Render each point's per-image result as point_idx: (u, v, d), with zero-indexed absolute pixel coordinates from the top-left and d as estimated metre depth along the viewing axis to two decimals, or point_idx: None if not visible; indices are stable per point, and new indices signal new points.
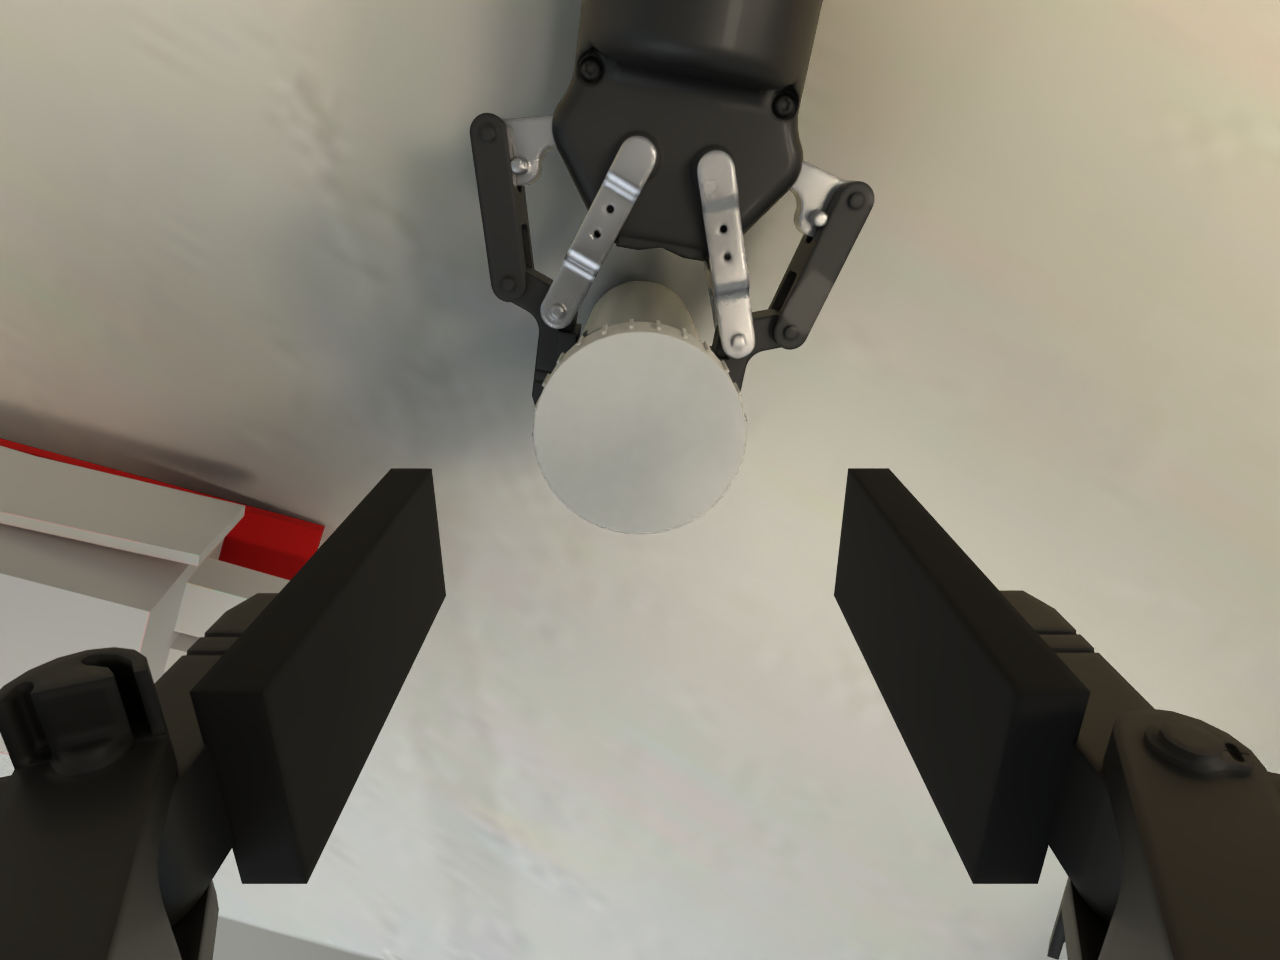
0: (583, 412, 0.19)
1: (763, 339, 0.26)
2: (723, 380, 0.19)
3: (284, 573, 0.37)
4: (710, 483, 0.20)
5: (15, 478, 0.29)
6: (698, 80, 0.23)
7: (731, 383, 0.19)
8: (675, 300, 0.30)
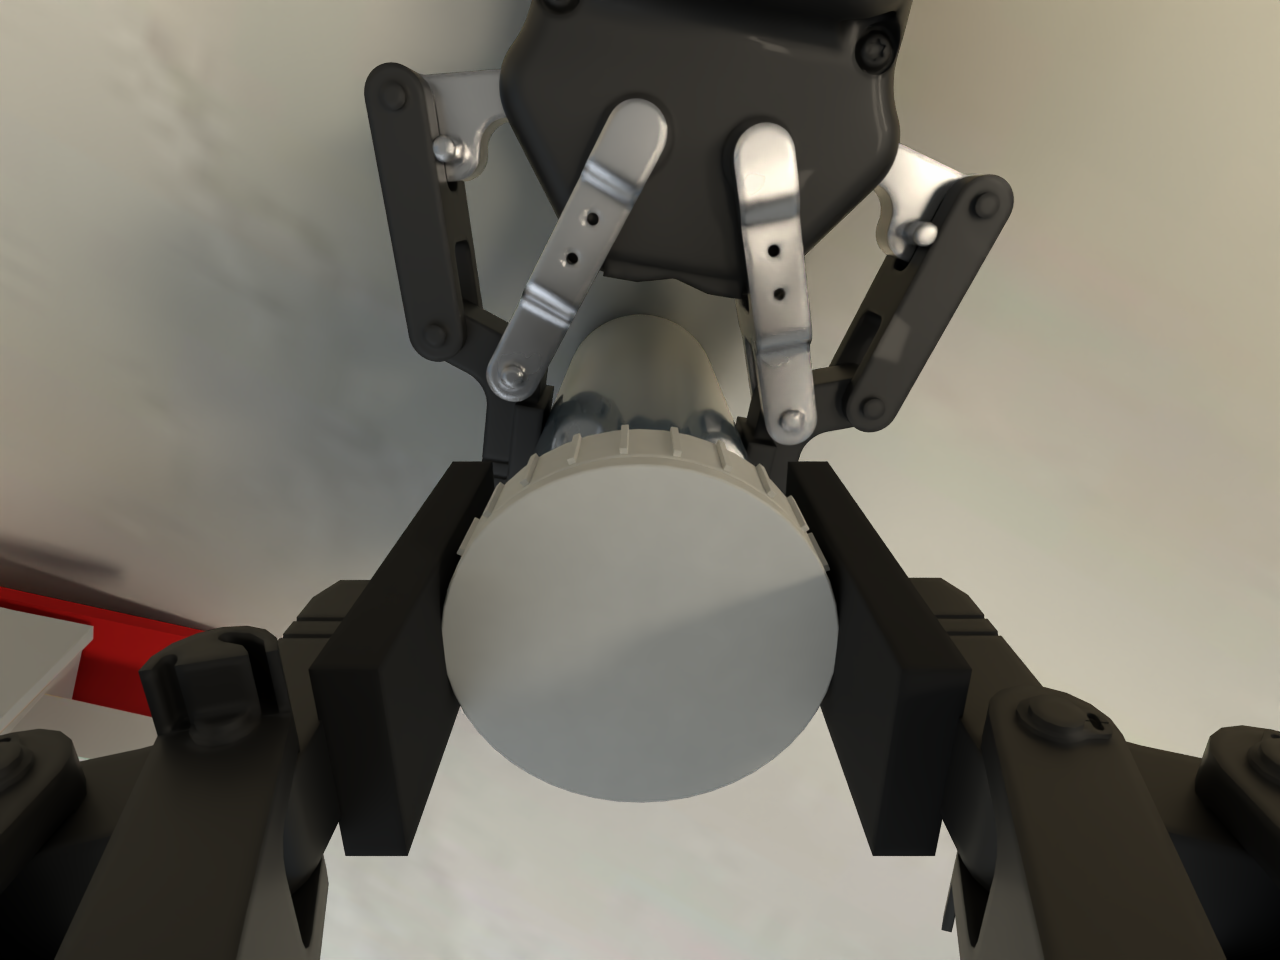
0: (533, 607, 0.10)
1: (827, 415, 0.17)
2: (800, 552, 0.10)
3: None
4: (769, 724, 0.11)
5: None
6: (737, 6, 0.14)
7: (815, 557, 0.10)
8: (691, 346, 0.21)
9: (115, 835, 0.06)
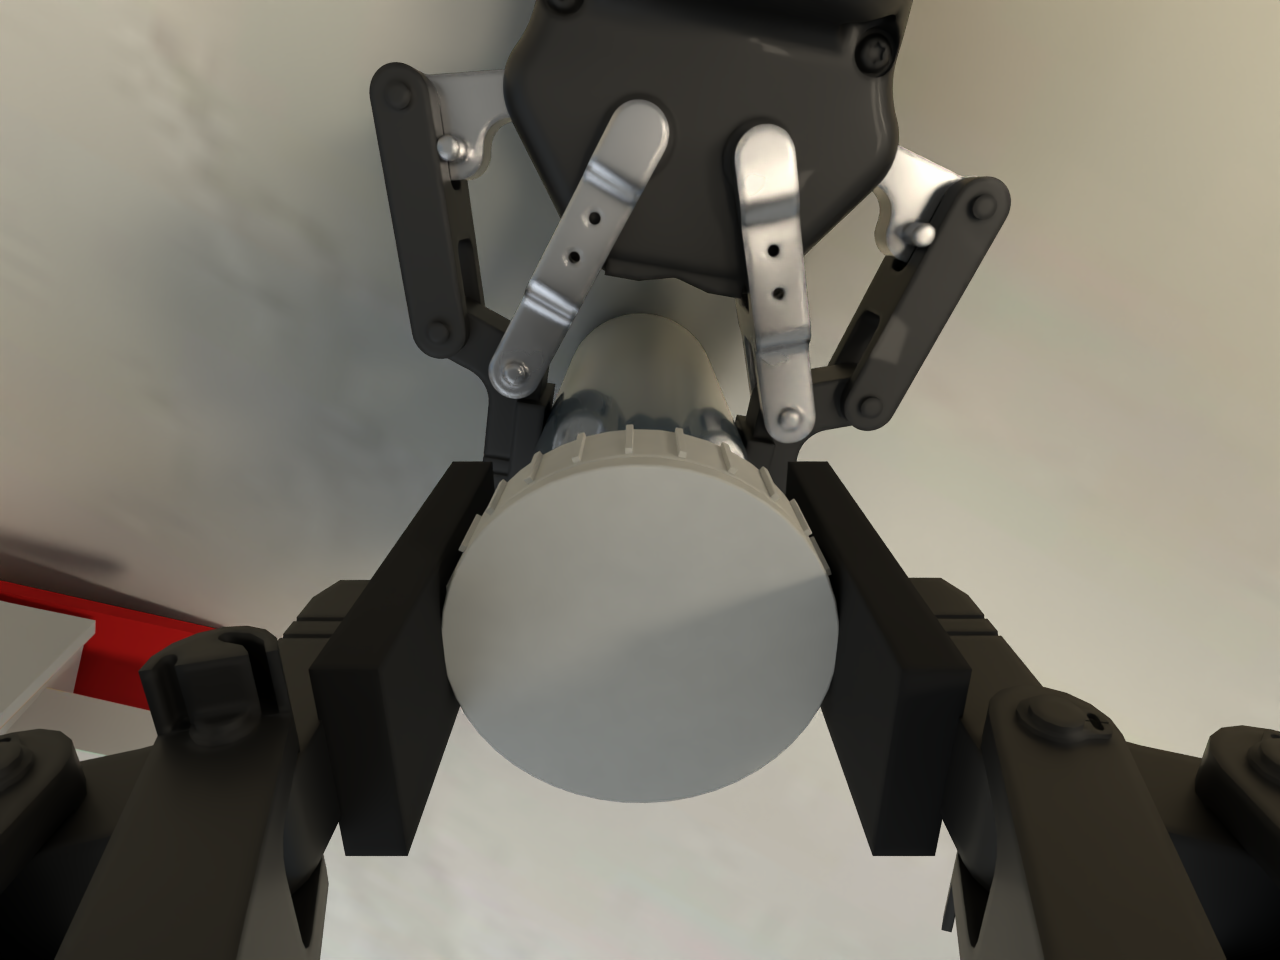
0: (635, 743, 0.11)
1: (826, 413, 0.18)
2: (469, 567, 0.10)
3: None
4: (670, 504, 0.10)
5: None
6: (738, 8, 0.14)
7: (467, 552, 0.10)
8: (691, 345, 0.21)
9: (115, 835, 0.06)
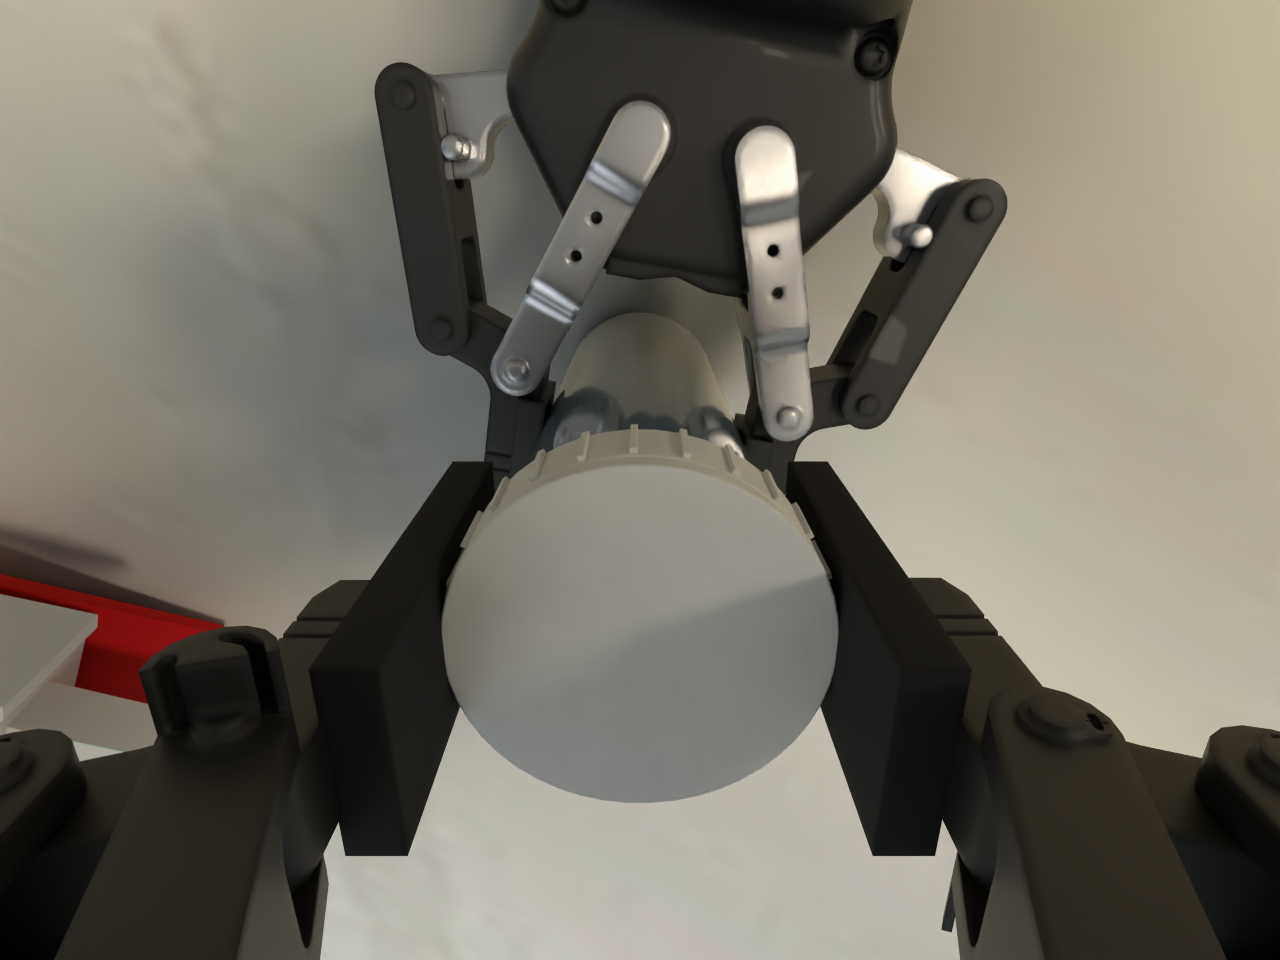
0: (749, 614, 0.10)
1: (824, 412, 0.18)
2: (621, 794, 0.11)
3: None
4: (484, 684, 0.11)
5: None
6: (739, 11, 0.14)
7: (608, 799, 0.11)
8: (690, 344, 0.21)
9: (115, 835, 0.06)
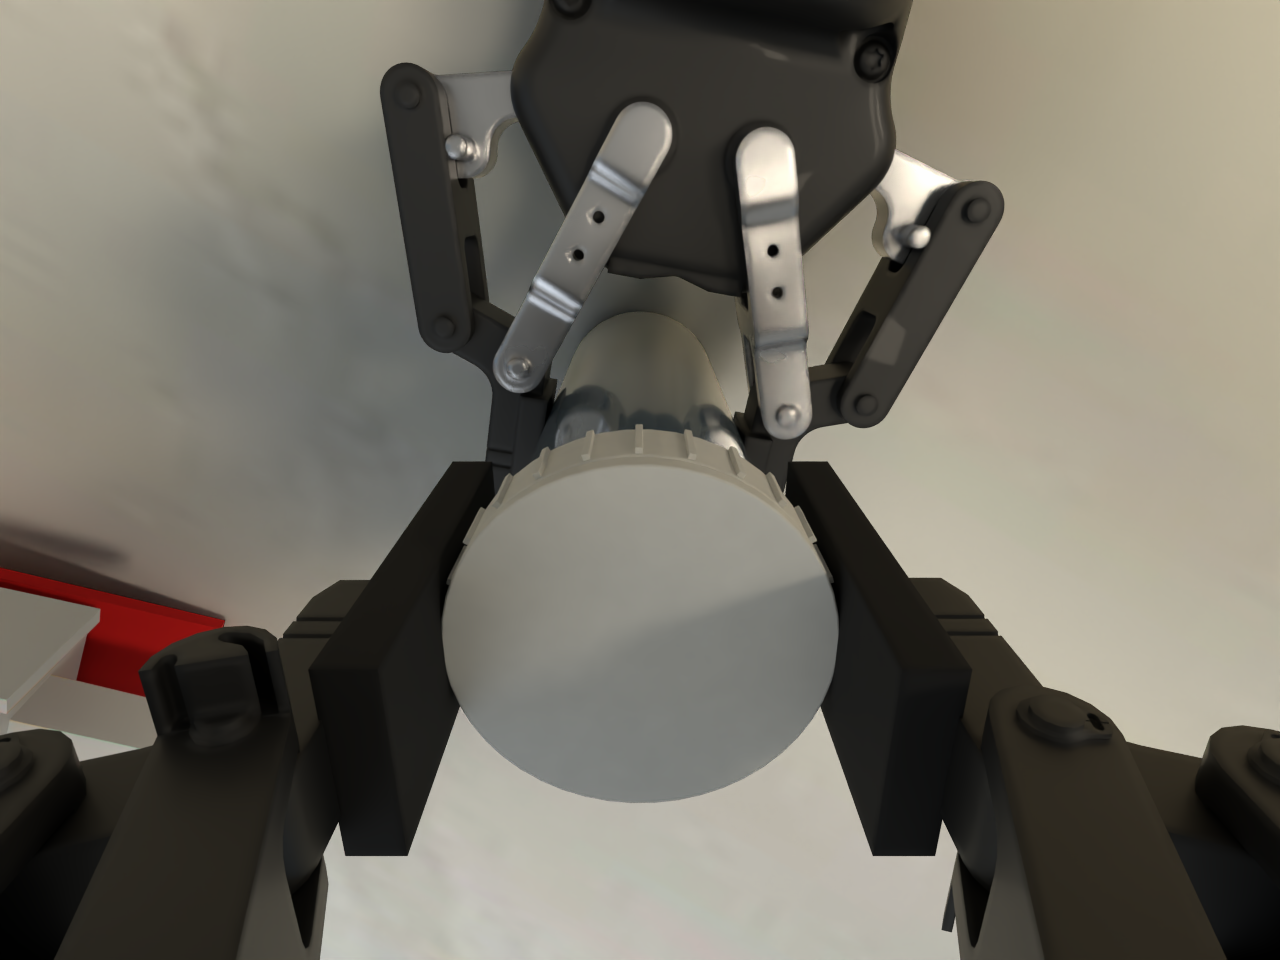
0: (554, 580, 0.10)
1: (822, 411, 0.18)
2: (824, 601, 0.10)
3: None
4: (734, 753, 0.11)
5: None
6: (741, 14, 0.14)
7: (836, 610, 0.10)
8: (691, 343, 0.22)
9: (115, 834, 0.06)
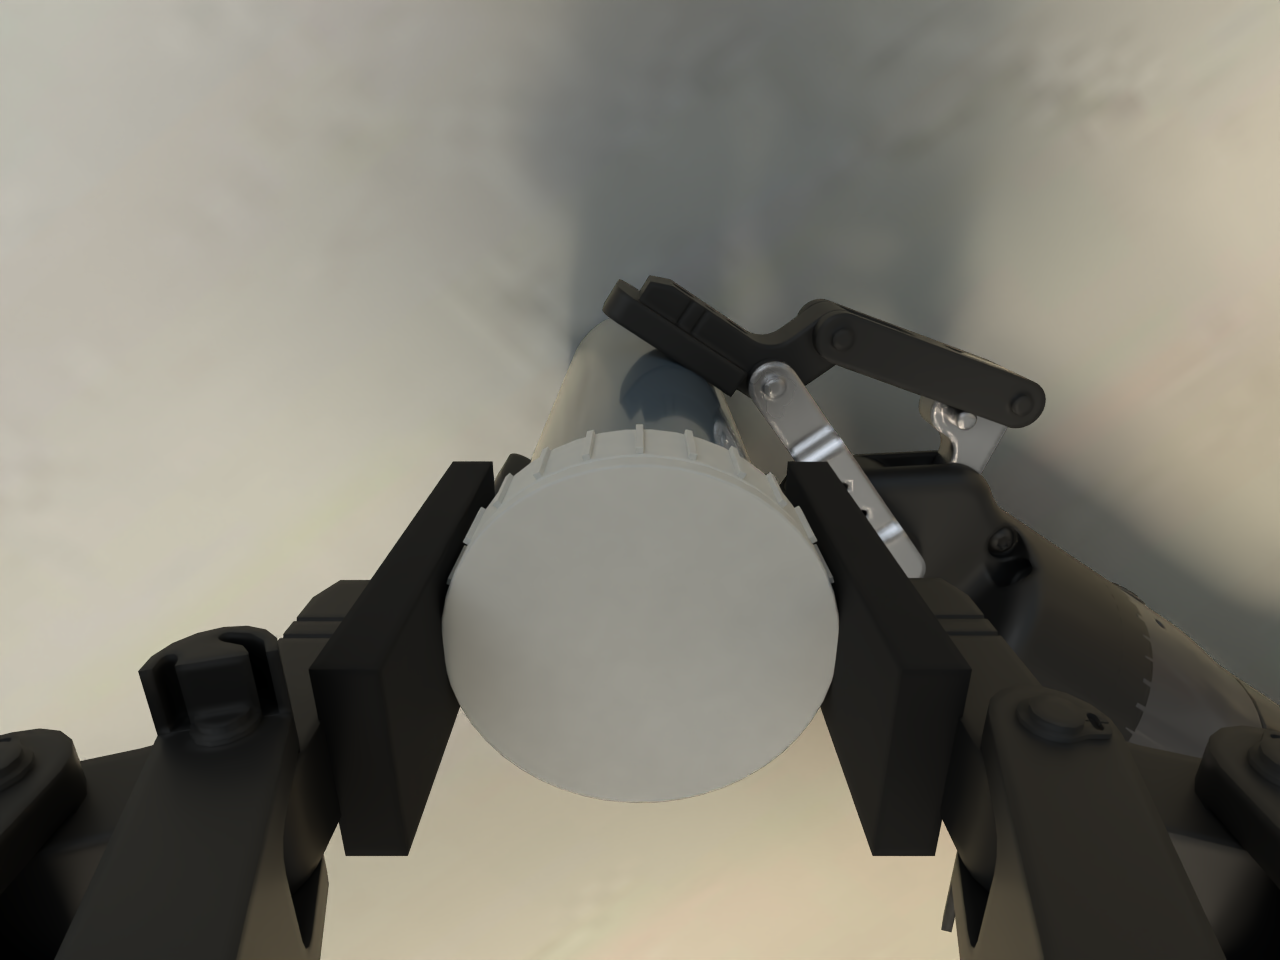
0: (554, 580, 0.10)
1: None
2: (824, 602, 0.10)
3: None
4: (733, 753, 0.11)
5: None
6: None
7: (836, 611, 0.10)
8: None
9: (115, 835, 0.06)
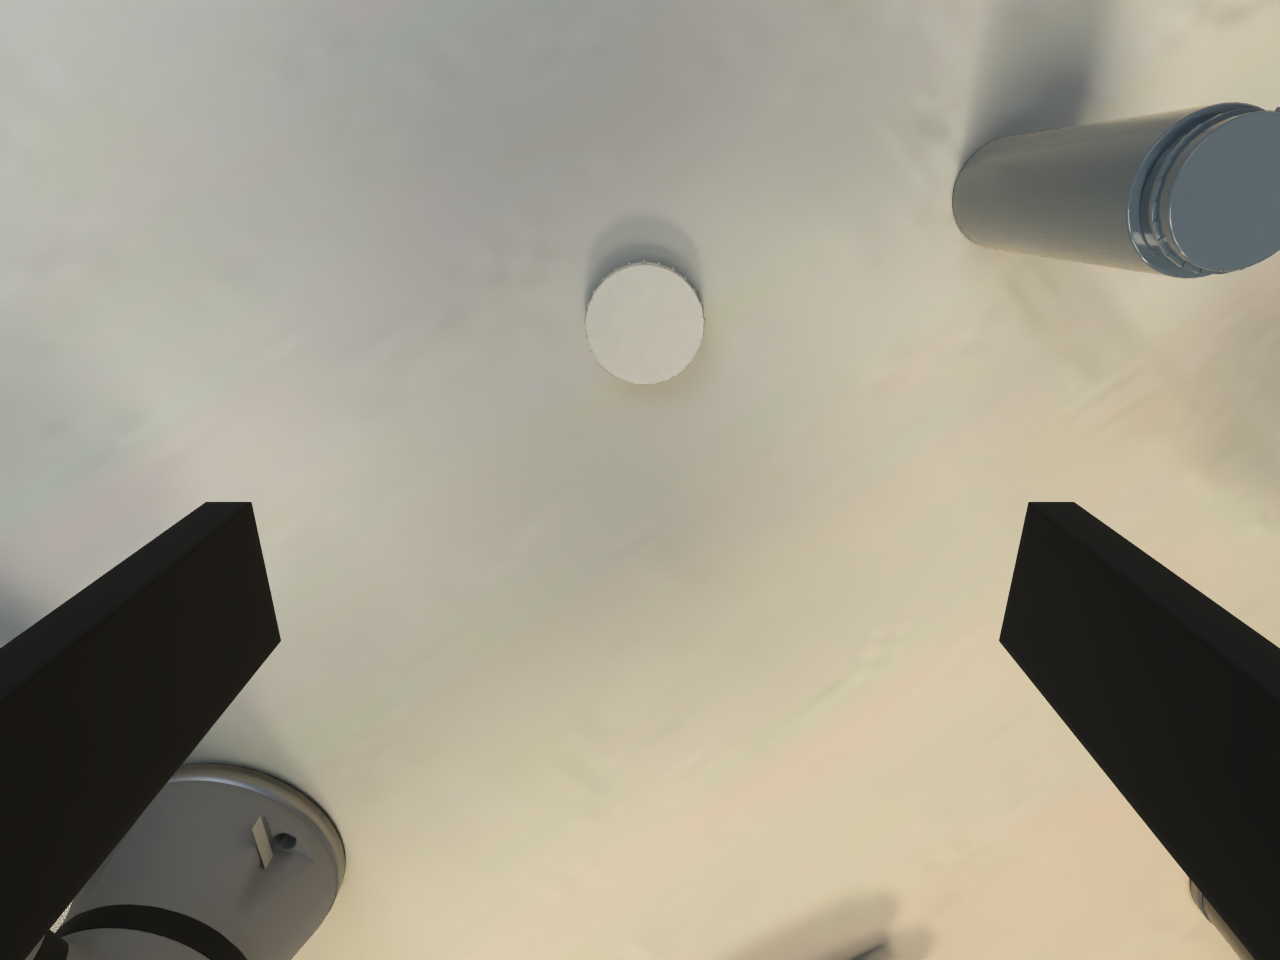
0: (619, 302, 0.35)
1: None
2: (698, 309, 0.35)
3: None
4: (673, 364, 0.36)
5: None
6: None
7: (702, 312, 0.35)
8: None
9: None
